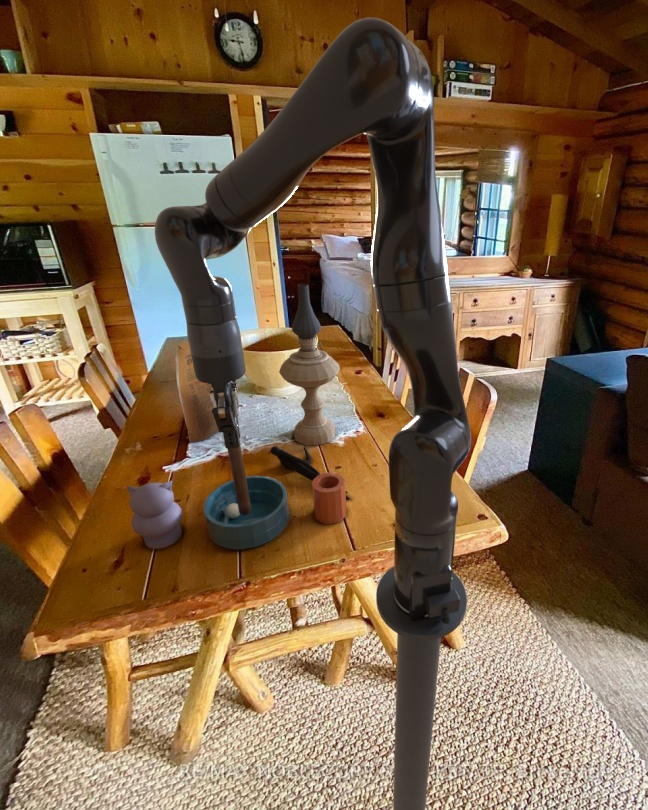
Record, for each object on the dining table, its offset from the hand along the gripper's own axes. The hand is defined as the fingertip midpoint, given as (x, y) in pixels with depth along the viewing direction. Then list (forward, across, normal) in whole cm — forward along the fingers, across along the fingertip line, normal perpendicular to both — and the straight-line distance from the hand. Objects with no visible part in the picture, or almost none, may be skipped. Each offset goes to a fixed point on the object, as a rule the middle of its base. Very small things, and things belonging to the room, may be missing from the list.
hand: (233, 442), depth 76 cm
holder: (+21, +2, -16) cm, 26 cm away
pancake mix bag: (+21, +44, +10) cm, 50 cm away
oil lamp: (+21, +36, -16) cm, 44 cm away
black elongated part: (+21, +17, -15) cm, 32 cm away
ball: (+19, +6, +3) cm, 20 cm away
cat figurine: (+21, +4, +16) cm, 27 cm away
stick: (+15, 0, 0) cm, 15 cm away
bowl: (+21, +4, 0) cm, 21 cm away
